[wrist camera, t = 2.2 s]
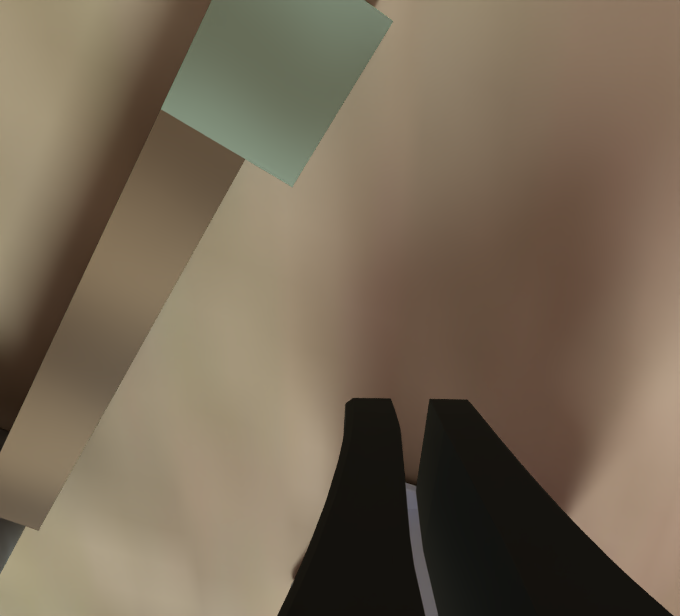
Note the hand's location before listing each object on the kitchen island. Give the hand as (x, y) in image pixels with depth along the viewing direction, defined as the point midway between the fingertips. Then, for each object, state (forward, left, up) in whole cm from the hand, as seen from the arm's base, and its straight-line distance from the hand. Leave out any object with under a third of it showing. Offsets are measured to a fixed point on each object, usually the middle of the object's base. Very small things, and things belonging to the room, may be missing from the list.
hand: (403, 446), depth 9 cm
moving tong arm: (+5, +3, -9) cm, 11 cm away
